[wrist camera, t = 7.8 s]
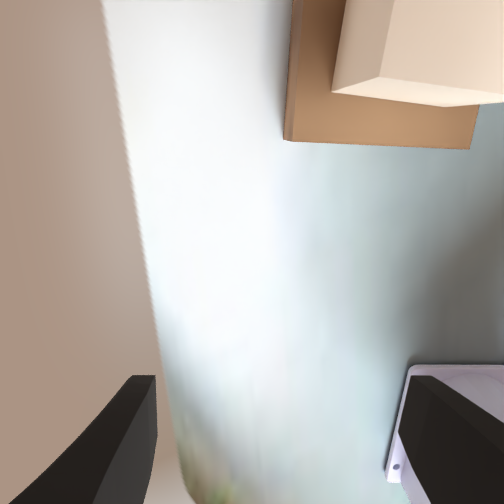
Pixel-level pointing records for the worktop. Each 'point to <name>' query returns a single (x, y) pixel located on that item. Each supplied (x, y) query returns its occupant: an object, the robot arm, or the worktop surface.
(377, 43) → the cube
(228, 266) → the worktop surface
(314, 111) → the base block
